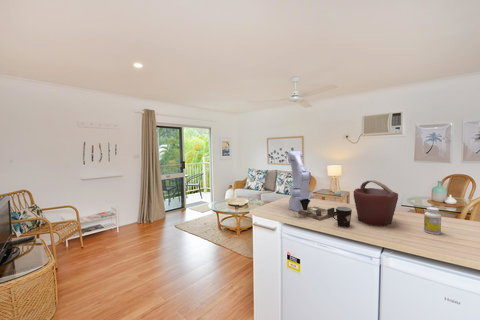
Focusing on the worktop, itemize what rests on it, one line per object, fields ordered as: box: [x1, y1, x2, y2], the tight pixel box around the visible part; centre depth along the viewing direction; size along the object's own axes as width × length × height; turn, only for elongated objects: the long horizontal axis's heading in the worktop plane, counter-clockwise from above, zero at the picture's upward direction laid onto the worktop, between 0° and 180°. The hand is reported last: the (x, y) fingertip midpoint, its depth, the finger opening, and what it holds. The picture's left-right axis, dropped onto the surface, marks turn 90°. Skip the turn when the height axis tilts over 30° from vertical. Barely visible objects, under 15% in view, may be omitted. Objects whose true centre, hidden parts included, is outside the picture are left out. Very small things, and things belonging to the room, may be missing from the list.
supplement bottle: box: [423, 206, 442, 235], centre depth 112 cm, size 7×7×13 cm
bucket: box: [353, 180, 399, 227], centre depth 130 cm, size 24×22×25 cm
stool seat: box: [297, 206, 337, 222], centre depth 147 cm, size 18×18×6 cm
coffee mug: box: [332, 206, 353, 228], centre depth 126 cm, size 12×9×10 cm
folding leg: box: [301, 206, 317, 215], centre depth 145 cm, size 12×3×3 cm, turn 33°
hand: (304, 210), depth 143 cm, fingers closed
